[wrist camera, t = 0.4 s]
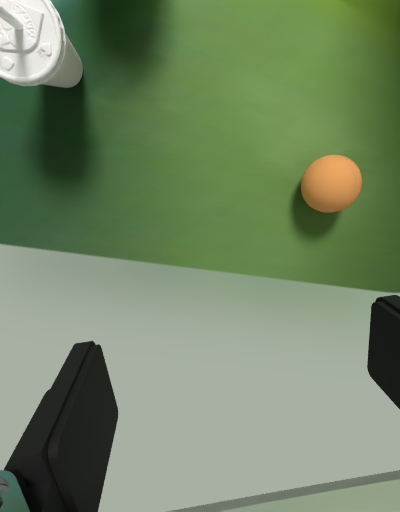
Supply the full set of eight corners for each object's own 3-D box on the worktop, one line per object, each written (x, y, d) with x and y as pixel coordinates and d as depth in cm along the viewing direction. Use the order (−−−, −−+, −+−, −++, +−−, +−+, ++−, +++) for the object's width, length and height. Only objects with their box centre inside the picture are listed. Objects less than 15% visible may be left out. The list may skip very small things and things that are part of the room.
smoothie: (109, 85, 30) (56, 37, 17) (53, 114, 31) (-39, 88, 18) (74, 14, 28) (-17, -102, 15) (15, 46, 29) (-122, -39, 16)
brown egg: (314, 143, 34) (342, 142, 28) (353, 172, 35) (387, 177, 29) (282, 189, 35) (302, 197, 30) (321, 216, 37) (347, 228, 31)
